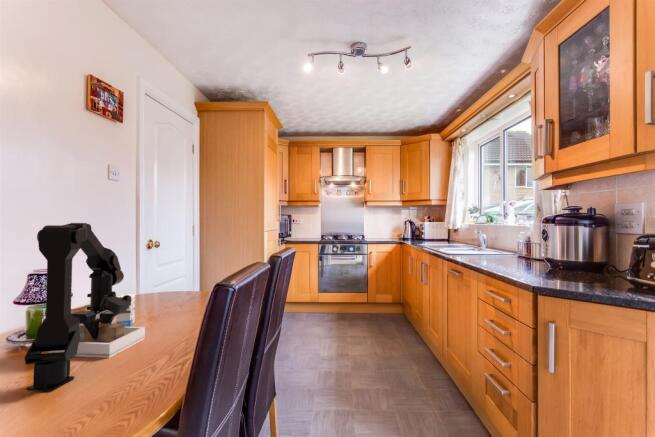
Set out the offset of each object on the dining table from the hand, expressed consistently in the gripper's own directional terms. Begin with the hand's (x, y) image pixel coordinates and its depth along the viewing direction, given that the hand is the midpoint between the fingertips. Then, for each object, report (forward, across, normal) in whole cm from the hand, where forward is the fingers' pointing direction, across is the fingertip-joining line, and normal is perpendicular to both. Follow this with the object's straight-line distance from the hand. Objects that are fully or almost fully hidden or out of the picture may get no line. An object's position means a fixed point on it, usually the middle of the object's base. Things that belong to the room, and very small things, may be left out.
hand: (100, 337), depth 101 cm
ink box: (+3, +22, +8) cm, 24 cm away
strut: (+1, 0, 0) cm, 1 cm away
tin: (+3, +16, +22) cm, 27 cm away
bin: (+3, 0, 0) cm, 3 cm away
